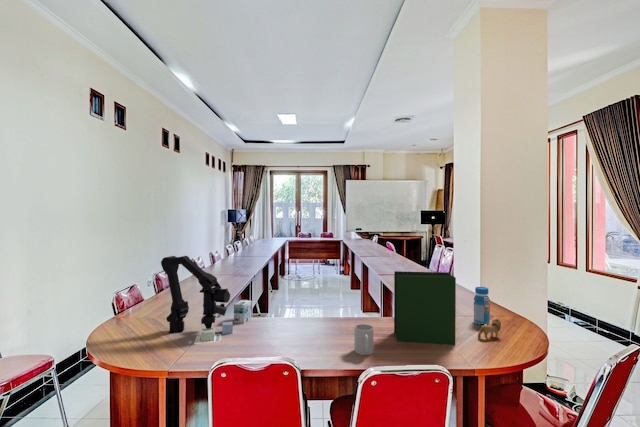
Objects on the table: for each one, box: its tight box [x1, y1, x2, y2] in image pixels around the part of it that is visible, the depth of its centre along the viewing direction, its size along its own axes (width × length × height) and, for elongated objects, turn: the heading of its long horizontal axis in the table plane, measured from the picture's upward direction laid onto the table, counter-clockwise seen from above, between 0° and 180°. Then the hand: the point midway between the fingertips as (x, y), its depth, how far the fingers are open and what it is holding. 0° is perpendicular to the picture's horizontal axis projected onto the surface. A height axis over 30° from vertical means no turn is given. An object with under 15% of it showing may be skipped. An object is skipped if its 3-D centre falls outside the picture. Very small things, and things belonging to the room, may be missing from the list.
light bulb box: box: [233, 299, 253, 325], centre depth 194 cm, size 11×7×11 cm, turn 168°
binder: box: [393, 270, 457, 346], centre depth 168 cm, size 27×15×32 cm, turn 83°
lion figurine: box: [477, 318, 502, 341], centre depth 168 cm, size 15×5×9 cm, turn 117°
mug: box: [353, 323, 374, 356], centre depth 150 cm, size 12×8×11 cm
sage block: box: [200, 327, 216, 341], centre depth 165 cm, size 6×6×4 cm
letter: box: [193, 333, 222, 345], centre depth 165 cm, size 12×11×1 cm
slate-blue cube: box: [221, 320, 234, 335], centre depth 174 cm, size 5×5×5 cm
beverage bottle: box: [473, 286, 491, 325], centre depth 191 cm, size 8×8×20 cm
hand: (209, 331), depth 171 cm, fingers closed
